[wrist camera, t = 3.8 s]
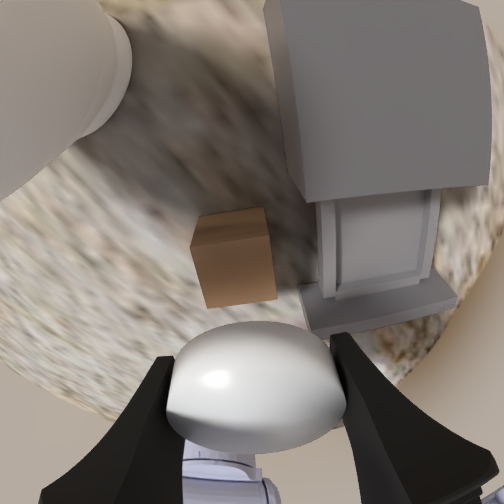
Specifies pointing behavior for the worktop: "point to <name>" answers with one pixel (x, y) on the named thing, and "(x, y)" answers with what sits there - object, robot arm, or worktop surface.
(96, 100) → the jar
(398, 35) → the block
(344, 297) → the grey drawer
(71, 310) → the worktop surface
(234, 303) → the walnut block
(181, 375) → the white dome cap
